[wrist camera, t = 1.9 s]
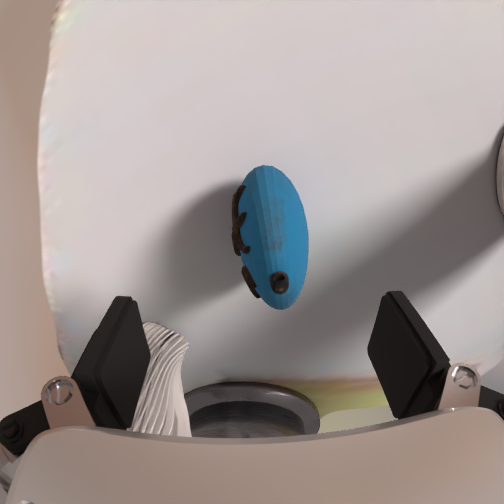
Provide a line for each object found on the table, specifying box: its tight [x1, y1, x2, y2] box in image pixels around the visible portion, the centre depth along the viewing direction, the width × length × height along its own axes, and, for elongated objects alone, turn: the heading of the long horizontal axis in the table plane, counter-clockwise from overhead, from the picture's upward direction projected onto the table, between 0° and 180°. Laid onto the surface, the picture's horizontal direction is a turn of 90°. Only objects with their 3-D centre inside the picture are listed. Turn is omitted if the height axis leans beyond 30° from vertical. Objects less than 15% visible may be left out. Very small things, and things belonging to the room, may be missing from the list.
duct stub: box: [184, 382, 320, 438], centre depth 29 cm, size 19×19×12 cm
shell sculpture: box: [127, 322, 192, 437], centre depth 20 cm, size 8×8×18 cm
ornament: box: [232, 165, 308, 310], centre depth 17 cm, size 8×5×10 cm, turn 9°
